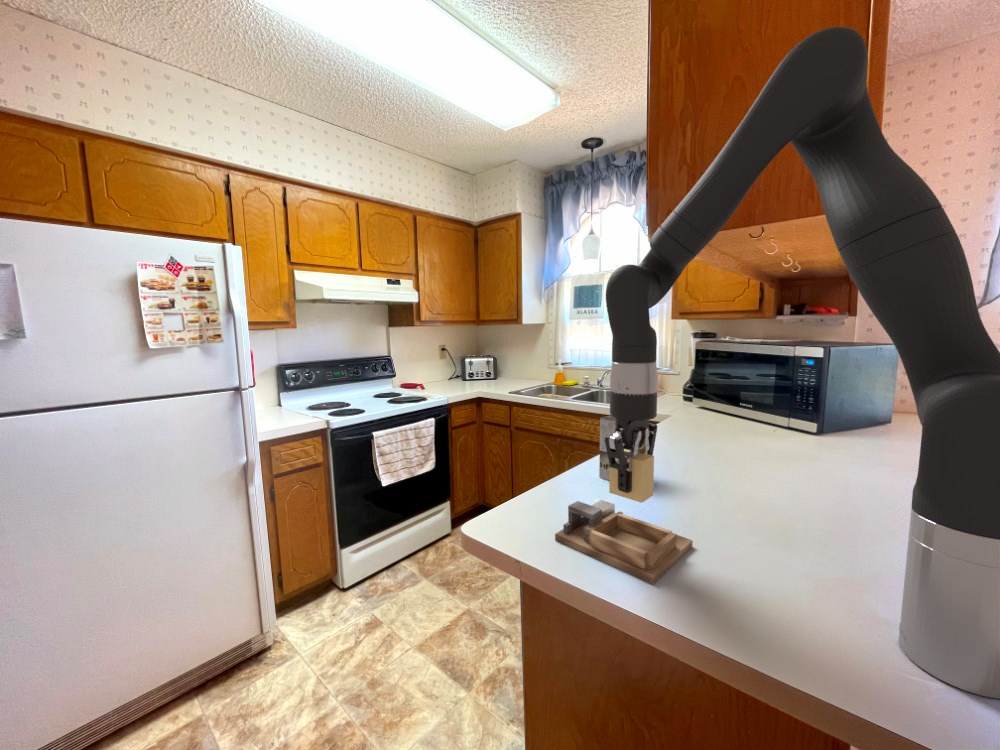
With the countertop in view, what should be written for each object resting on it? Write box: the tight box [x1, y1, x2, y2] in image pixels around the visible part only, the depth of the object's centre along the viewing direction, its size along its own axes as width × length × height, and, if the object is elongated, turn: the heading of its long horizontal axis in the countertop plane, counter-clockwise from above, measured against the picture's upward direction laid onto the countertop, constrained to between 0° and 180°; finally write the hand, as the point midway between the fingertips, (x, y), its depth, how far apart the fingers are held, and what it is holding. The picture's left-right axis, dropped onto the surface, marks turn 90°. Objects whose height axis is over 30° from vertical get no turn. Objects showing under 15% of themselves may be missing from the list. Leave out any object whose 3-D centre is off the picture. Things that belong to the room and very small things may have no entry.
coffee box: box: [598, 415, 628, 482], centre depth 106 cm, size 9×6×16 cm
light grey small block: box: [587, 499, 616, 523], centre depth 80 cm, size 3×5×3 cm, turn 134°
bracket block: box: [608, 449, 655, 504], centre depth 69 cm, size 6×4×7 cm, turn 44°
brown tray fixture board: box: [554, 500, 694, 585], centre depth 73 cm, size 19×15×6 cm
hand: (631, 486), depth 70 cm, fingers closed on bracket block, 4 cm apart
